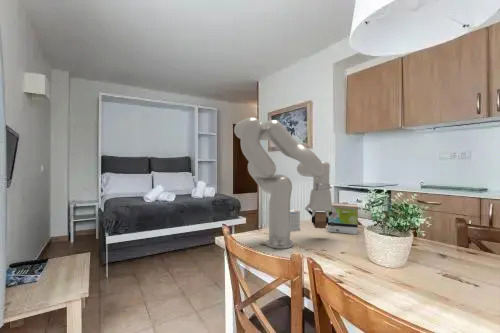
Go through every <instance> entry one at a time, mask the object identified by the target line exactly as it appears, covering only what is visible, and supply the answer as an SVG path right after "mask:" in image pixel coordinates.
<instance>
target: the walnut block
mask: <svg viewBox="0 0 500 333" xmlns="http://www.w3.org/2000/svg"><path fill="white" fill-rule="evenodd" d="M313 227H314V229H327V226H326V213H325V211H316V212H315V225H313Z"/></svg>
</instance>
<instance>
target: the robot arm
mask: <svg viewBox="0 0 500 333" xmlns="http://www.w3.org/2000/svg"><path fill="white" fill-rule="evenodd" d="M233 132H234V135H235V136H236V137H237V138H238V139H239V140H240V143H239V144H240V149H241V152H242V154H243V156H244V157H245V159H246V161H248V163H247V171H248V174H249V176H251V178H252V179H253V180H254V181H255V183H256V184H257V185H258V187H259V188H260V189H261V190H262V191H263V192H265V193H267V194H269V195H270V198H269V202H268V239H266V241H265V245H266V246H267V247H269V248H272V249H277V250H278V249H279V250H281V249H288V248H292V247H293V246H294V244H295V243H294V241H293V240H292V239H291V231H290V208H291V197H292V192H293V184H292V181H291V179H290V177H288V176H287V175H284V174H278V173H276V171H277V165H276V164H275V161H273V159H272V158H271V157H270V155H269V154H268V153H267V151H266V150H265V148H264V147H263V146H262V144H261V141H268V140H269V141H270V142H271V143H272V144H274V146H275V147H276V148H277V149H278V151H280V152H281V154H282V155H284V156H286V157H287V158H291V159H293V160H295V161H297V162H299V163H298V164H297V166H296V171H297V173H298V174H299V176H302V177H307V178H309V177H310V178H313V179H312V189H311V190H310V193H309V194H310V195H309V203H308V204H307V205H306V206H305V208H304V210H305V211H306V212H307V213H308V214H310V216H311V223H312V224H313V226H314V225H315V212H325V213H326V227H328V217H329V216H330V215H332V214H333V213H334V212H335V211H336V209H335V208H334V207H333V205H332V203H333V202H332V193H331V190H330V189H333V185H331V184H330V173H331V172H330V171H331V170H330V169H331V167H330V163H329V162H327V161H322V160H321V159H320V158H319V157H318V156H317V155H316V153H314V152H313V151H312V150H311V149H309V148H308V147H306V146H305V145H303V144H301V143H300V142H298V141H297V140H296V139H295V138H294V136H293V135H292V134H291V133H290V132H289V130H287V128H286V127H285V126H284V125H283V124H282V123H281V122H280V121H279V120H277V119H271V120H267V121H265V122H260V120H259V119H258V118H256V117H253V116H251V117H247V118H244V119H242V120H240V121H238V122H237V123H236V124H235V125H234V129H233ZM331 208H332V210H331ZM328 211H330V212H329V213H328Z"/></svg>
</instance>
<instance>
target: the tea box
mask: <svg viewBox="0 0 500 333" xmlns="http://www.w3.org/2000/svg"><path fill="white" fill-rule="evenodd" d="M332 205H333V207H334V208H335V209H336V211H335V212H334V213H333V214H332V215H330V216H329V217H328V224H327V233H339V234H340V233H341V234H350V235H358V233H359V232H358V228H359V226H358V224H359V223H358V222H359V206H358V205H357V203H348V202H345V203H343V202H332ZM331 210H332V208H331ZM329 212H330V211H328V213H329Z"/></svg>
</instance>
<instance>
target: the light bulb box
mask: <svg viewBox="0 0 500 333" xmlns="http://www.w3.org/2000/svg"><path fill="white" fill-rule="evenodd" d="M300 223H301V211H300V210H299V209H295V208H291V207H290V232H294V231H295V232H296V231H300V229H301V227H300V226H301V224H300Z"/></svg>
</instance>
